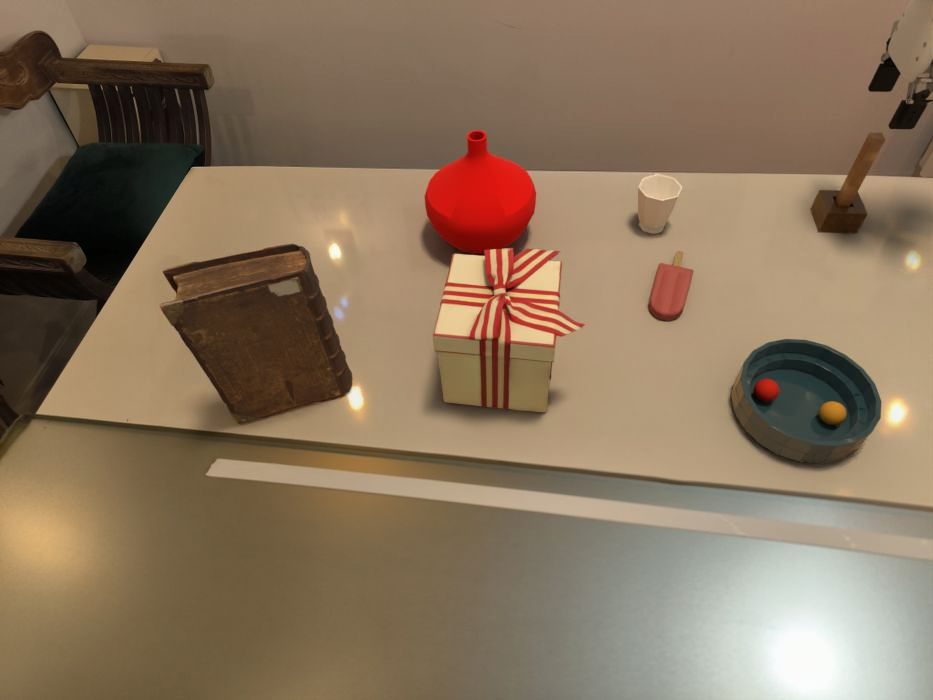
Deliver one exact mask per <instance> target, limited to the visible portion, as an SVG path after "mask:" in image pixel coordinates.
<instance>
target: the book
mask: <svg viewBox="0 0 933 700" xmlns="http://www.w3.org/2000/svg"><path fill="white" fill-rule="evenodd" d="M311 259H312V258H311V254H310V252H309V250H308V249H306V248H305V246H302V245H298V244H295V243H288V244H287V243H286V244H281V245H275V246H270V247H265V248H262V249H259V250H254V251H248V252H241V253H237V254H231V255H227V256H222V257H218V258H212V259H208V260H202V261H191V262H187V263H183V264H179V265H175V266H170V267H166V268H164V269H162V274H163V275H164V278H165V279H166V280H167V282H168V284H169V286H170V287H171V288H172V289H173V291H174V292H175V294H176V295H175V298H174V300H170V301H166V302H161V303H160V304H159V308H160V310H161V311H162V314H163V315H164V317H165V318H166V320H167V321H168V322H169V324H170V325H171V326H172V327H173V328H174V329H175V331H176V332H177V333H178V335H179V336H180V338H181V340H182V341H183V343H184V345H185V346H186V347H187V348H188V350H189V351H190V353H191V355H192V356H193V357H194V359H195V361H196V362H197V363H198V365H199V367H200V368H201V369H202V371H203V372H204V374H205V375H206V377H207V378H208V380H209V381H210V383H211V385H212V386H213V387H214V389H215V391H217V394H218V396H219V397H220V399H221V400H222V402H223V404H224V405H225V406H226V407H227V409H228V411H229V413H230V414H231V416H232V418H233V419H234V421H235V422H236V424H237V425H243V424H248V423H252V422H256V421H260V420H263V419H266V418H269V417H272V416H275V415H278V414H280V413H284V412H286V411H290V410H294V409H297V408H301V407H305V406H309V405H312V404H317V403H325V402H330V401H334V400H336V399H340V398H343V397H344V396H345V395H346V394H348V393H350V391H351V389H352V386H353V379H354V378H353V372H352V371H351V369H350V367H349V364H348V362H347V356H346V353H345V351H344V350H343V348H342V346H341V341H340V340H341V339H340V337H339V335H338V333H337V331H336V329H335V325H334V319H333V317H332V315H331V314H330V312H329V308H328V304H327V299H326V297H325V296H324V295H323V292H322V289H321V287H320V280H319V278H318V275H317V274H316V273H315V270H314V266H313V263H312V260H311Z"/></svg>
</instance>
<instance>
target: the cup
mask: <svg viewBox="0 0 933 700" xmlns="http://www.w3.org/2000/svg"><path fill="white" fill-rule="evenodd" d="M682 190H683V186H682V184H681V183H680V182H679V181H678V180H677V179H676V178H675V177H673V176H669V175H666V174H665V175H664V174H660V173H653V174H651V175H648V176H644V177H643V178H642V179H641V181H640V183H639V184H638V186H637V214H638V221H639V223H638V227H639V228H640V229H641V230H642V232H644V233H648V234H651V235H654V234H659V233H662V232H663V231H664V228H665V227H666V224H667V222H668V220H669V218H670V216H671V214H672V212H673V210H674V208H675V205H676V203H677V202H678V199H679V196H680V195H681V192H682Z"/></svg>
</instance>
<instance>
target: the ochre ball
mask: <svg viewBox="0 0 933 700" xmlns="http://www.w3.org/2000/svg"><path fill="white" fill-rule="evenodd" d="M819 415H820V418H821V419H822V420H823V421H824V422H825V423H827V424H830V425H837V424H840V423H842V422H843V421H844V420H845V418H846V415H847V412H846V409H845V407H844V406H843V405H842V404H840V403H838V402H835V401H830V402H826V403H824V404H823V405H822V406H821V407H820V410H819Z"/></svg>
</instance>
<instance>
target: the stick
mask: <svg viewBox="0 0 933 700" xmlns="http://www.w3.org/2000/svg"><path fill="white" fill-rule="evenodd" d="M885 142H886V137H885V136H884V134H883V132H869V133H868V134H867V136H866V138H865V141H864V142H863V144H862V146H861V147H860V150H859V152H858V154H857V155H856V158H855V160H854V162H853V164H852V165H851V167H850V169H849V172H848V173H847V175H846V178H845V179H844V181H843V183H842V185H841V187H840V191H839V193H838V195H837V197H836V199H835V204H836V206H837V207H850V205H851V203H852V201H853V199H854V197H855V196H856V194H857V192H858V193H859V190H860V188H861V186H862V185H863V182H864V181H865V179H866V177H867V175H868V173H869V171H870V169H871V168H872V166H873V164H874V162H875V160H876V159H877V156H878V155H879V153H880V151H881V149H882V147H883V146H884V143H885Z"/></svg>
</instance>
